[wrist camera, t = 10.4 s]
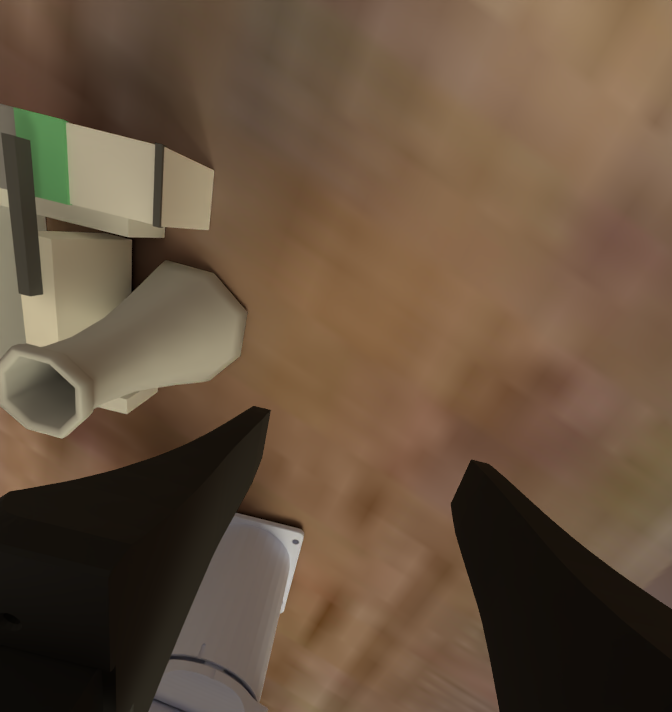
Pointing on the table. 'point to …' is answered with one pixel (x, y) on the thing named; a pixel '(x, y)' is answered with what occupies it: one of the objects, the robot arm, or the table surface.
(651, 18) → the table surface
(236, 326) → the grey vase
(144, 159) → the gauge frame
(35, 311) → the pad
